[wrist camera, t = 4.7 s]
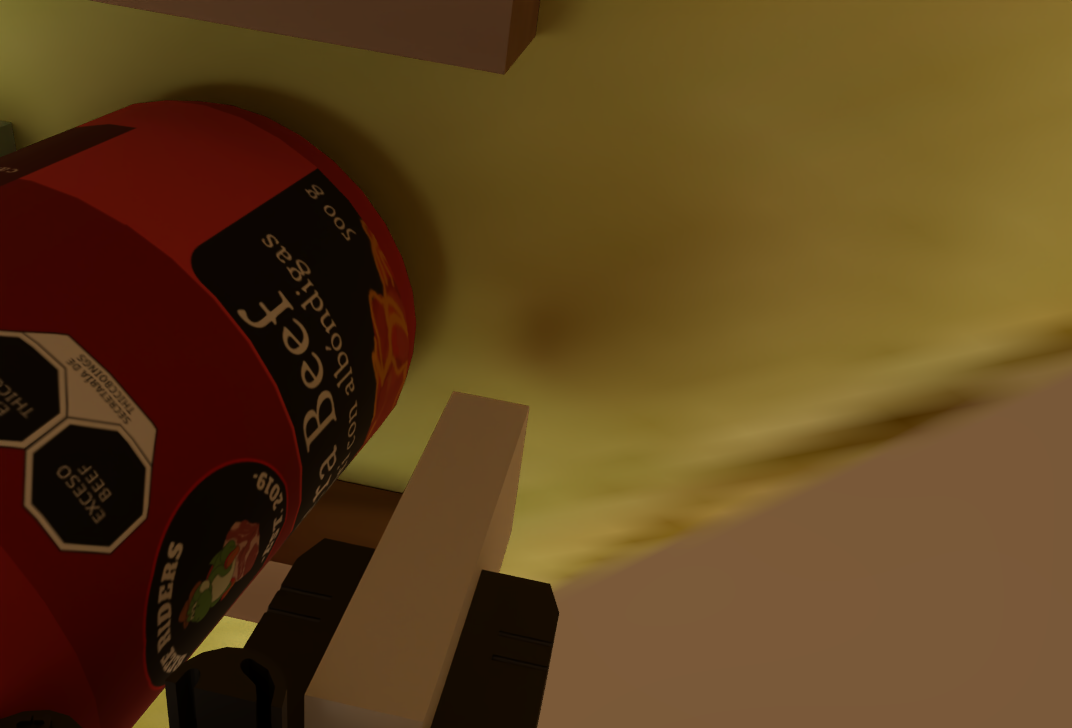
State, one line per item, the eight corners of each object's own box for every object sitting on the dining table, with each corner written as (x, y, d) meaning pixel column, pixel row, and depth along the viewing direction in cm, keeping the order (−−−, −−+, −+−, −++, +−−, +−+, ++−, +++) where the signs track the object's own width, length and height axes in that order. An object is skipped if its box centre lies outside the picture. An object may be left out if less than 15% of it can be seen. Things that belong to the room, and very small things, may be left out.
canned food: (407, 480, 21) (27, 999, 12) (104, 355, 22) (-442, 740, 13) (458, 166, 16) (-91, 623, 7) (74, 33, 17) (-786, 287, 9)
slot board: (-227, -218, 16) (-401, -227, 14) (551, -88, 15) (521, -71, 13) (-58, 457, 24) (-149, 532, 21) (465, 570, 23) (435, 662, 20)
